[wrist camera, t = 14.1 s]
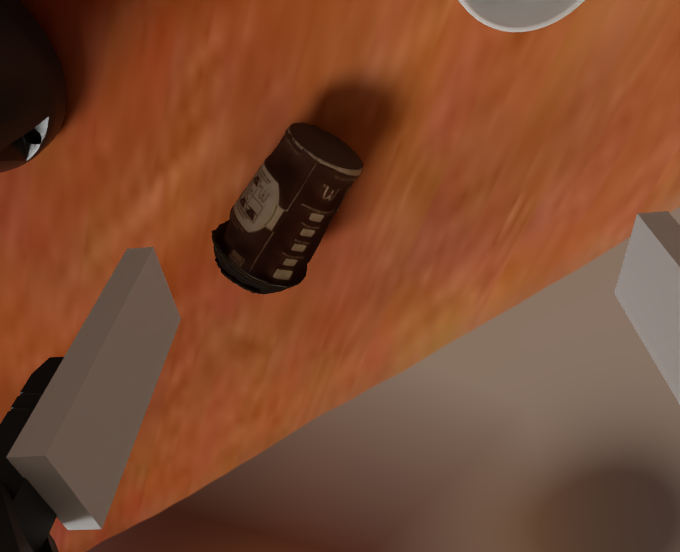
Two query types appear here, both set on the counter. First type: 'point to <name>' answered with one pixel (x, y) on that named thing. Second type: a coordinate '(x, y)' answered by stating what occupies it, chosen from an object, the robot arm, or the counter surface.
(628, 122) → the counter surface
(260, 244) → the coffee cup
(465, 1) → the mug
